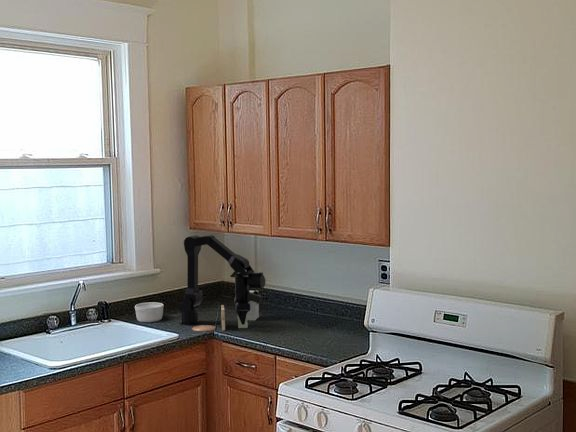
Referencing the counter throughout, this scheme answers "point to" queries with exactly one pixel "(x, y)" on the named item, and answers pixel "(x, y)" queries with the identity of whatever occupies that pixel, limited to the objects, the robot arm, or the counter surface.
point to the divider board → (223, 317)
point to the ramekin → (149, 311)
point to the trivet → (203, 328)
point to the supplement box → (253, 310)
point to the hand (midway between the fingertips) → (242, 322)
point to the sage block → (241, 323)
